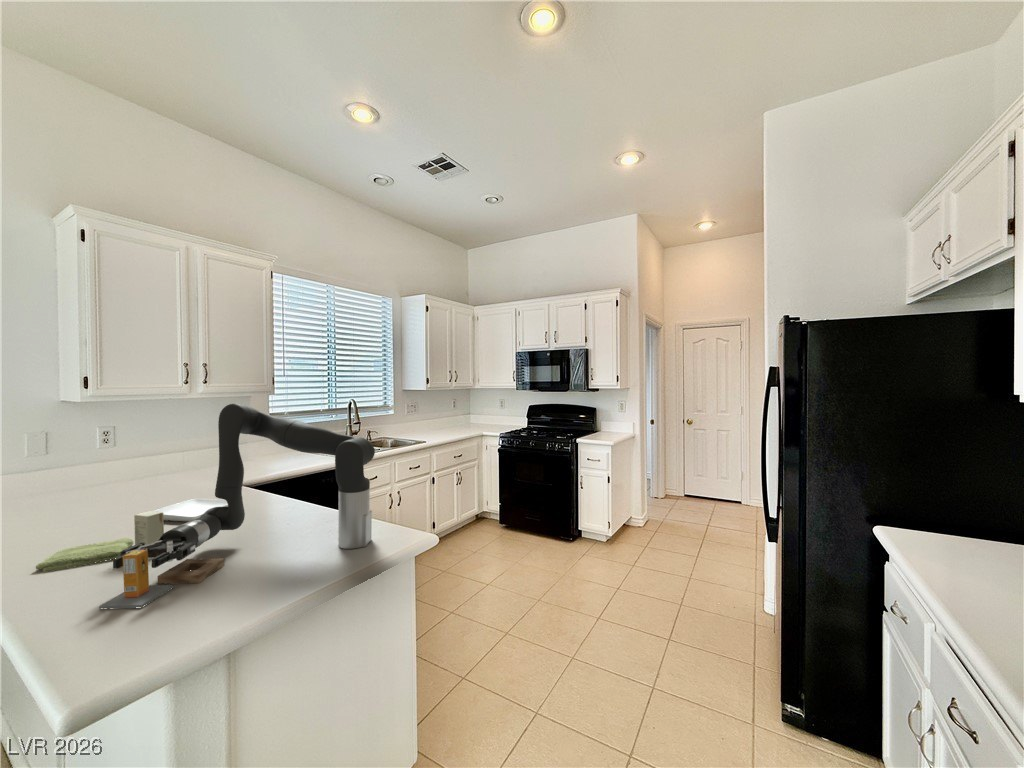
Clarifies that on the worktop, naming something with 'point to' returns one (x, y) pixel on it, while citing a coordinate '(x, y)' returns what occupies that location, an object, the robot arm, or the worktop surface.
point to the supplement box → (135, 573)
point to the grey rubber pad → (137, 598)
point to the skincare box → (148, 527)
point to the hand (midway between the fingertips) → (133, 564)
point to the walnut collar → (184, 574)
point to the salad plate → (190, 509)
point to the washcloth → (85, 554)
